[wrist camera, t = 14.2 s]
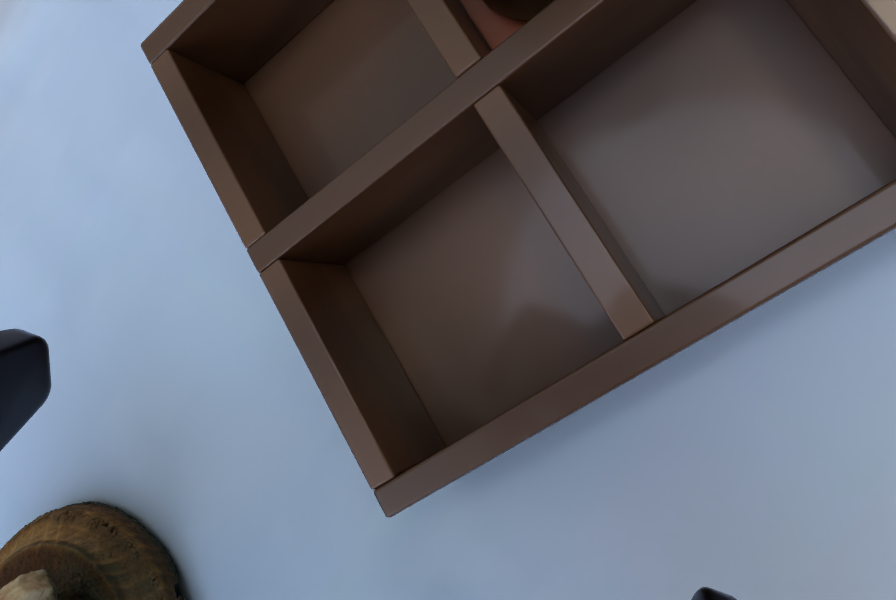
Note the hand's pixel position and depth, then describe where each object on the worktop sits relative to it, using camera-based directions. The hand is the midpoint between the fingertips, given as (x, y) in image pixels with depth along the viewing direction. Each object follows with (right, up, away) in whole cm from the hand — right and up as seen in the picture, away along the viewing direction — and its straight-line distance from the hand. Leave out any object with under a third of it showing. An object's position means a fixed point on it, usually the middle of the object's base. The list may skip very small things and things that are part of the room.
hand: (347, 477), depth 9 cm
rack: (+4, +7, +11) cm, 14 cm away
